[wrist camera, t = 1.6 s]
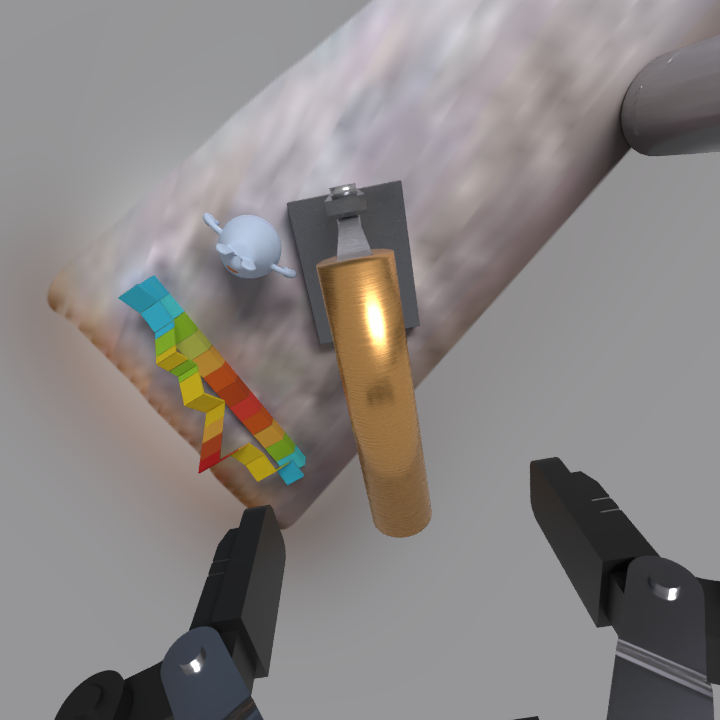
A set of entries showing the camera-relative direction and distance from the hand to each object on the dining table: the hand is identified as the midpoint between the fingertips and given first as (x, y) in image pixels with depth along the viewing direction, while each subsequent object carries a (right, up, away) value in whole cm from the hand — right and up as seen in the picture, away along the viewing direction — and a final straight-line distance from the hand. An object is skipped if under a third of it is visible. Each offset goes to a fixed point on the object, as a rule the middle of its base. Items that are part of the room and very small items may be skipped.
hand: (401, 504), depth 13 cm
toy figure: (-13, +18, +34) cm, 40 cm away
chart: (-18, +2, +41) cm, 45 cm away
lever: (-1, +10, +22) cm, 24 cm away
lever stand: (-2, +15, +35) cm, 38 cm away
